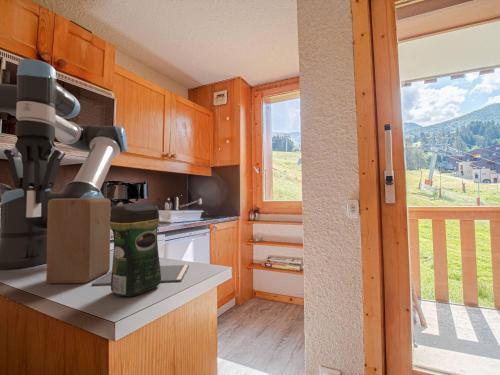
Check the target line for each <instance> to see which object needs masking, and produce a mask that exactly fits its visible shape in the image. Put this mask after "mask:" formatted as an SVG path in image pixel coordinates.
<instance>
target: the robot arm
mask: <svg viewBox="0 0 500 375" xmlns="http://www.w3.org/2000/svg"><path fill="white" fill-rule="evenodd" d="M57 79H58V77H57V71H56V69H55V67H53V66H52V65H51V64H49V63H47V62H44V61H42V60H38V59H35V58H22V59H20V60H19V61H18V63H17V71H16V84H8V83H7V84H6V83H0V113H8V114H10V115H11V116H13V117H15V118H16V120H17V121H16V122H15V134H14V135H15V136H16V139H17V140H16V142H15V144H14V147H12V148H11V149H7V148H6V149H4V150H3V154H4V155H5V157H6V158H7V160H8V163H9V164H8V165H9V168H10V173H11V177H12V180H13V186H14V187H15V188H16V189H12V190H8V191H5V192H4V193H2V196H1V199H0V270H10V269H11V270H12V269H20V268H29V267H33V266H38V265H39V266H40V265H43V264H47V219H48V201H49V200H51V199H68V198H105V197H104V195H103V194H102V191H101V188H102V186H103V184H104V181H105V179H106V177H107V174H108V173H109V171H110V170H109V169H110V167H111V166H112V163H113V161H114V160H115V159H116V158H118V157H119V156H120V154H121V153H127V152H128V139H127V133H126V131H125V129H124V127H123V126H120V125H119V126H118V125H117V126H116V125H113V126H112V125H98V124H97V125H94V124H93V125H92V124H90V125H89V124H79V123H78V124H77V123H75V122H74V121H69V120H66V119H72V118H73V119H74V118H75V117H77V116H78V115H79V114H80V111H81V104H80V102H79V100H78V99H77V98H76V97H75V96H74V95H73V94H72V93H71V92H69V91H68V90H66V89H65V88H64V87H63V86H62V85H61V84H60V83H58V81H57ZM55 139H56V140H57V141H58V142H60V143H61V144H64V145H65V146H67V147H71V148H72V149H76V150H78V151H83V152H88V154H87V156H86V157H85V159H84V161H83V163H82V165H81V167H80V168H79V171H78V172H77V174H76V176H75V178H74V180H71V181H70V182H67V183H66V184H65V185H64V186H63V188H62V190H61V191H52V189H53V188H54V187H55V184H56V180H57V177H58V173H59V168H60V165H61V162H62V160H63V159H64V157H65V156H66V152H65V151H62V150H60V149H58V148H57V147H56V143H55V142H54V141H55Z"/></svg>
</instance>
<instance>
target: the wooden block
mask: <svg viewBox="0 0 500 375" xmlns="http://www.w3.org/2000/svg"><path fill="white" fill-rule="evenodd" d="M110 213H111V200H110V198H107V197H104V198H68V199H51V200H49V201H48V219H47V263H46V278H45V279H46V282H47V283H48V284H87V283H89V282H91V281H93V280H94V279H97V278H99V277H100V276H101V277H102V276H104V275H106V274H108V273H109V271H110V269H111V227H110V216H111V214H110Z"/></svg>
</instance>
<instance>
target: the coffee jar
mask: <svg viewBox="0 0 500 375" xmlns="http://www.w3.org/2000/svg"><path fill="white" fill-rule="evenodd" d="M160 220H161V219H160V212H159V207H158V205H157V204H156V203H148V202H132V203H125V204H119V205H118V204H117V205H113V206H112V207H111V208H110V230H111V232H112V233H113V234H112V235H113V253H112V254H113V257H112V267H111V268H112V269H111V271H112V276H111V285H110V291H111V292H112V293H113V294H114V295H115V296H118V297H133V296H137V295H139V294H143V293H145V292H147V291H149V290H151V289H154V288H156V287H158V286H159V285H161V283H162V282H161V270H160V266H161V263H160V256H159V255H160V254H159V246H158V228H159V224H160Z"/></svg>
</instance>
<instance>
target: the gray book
mask: <svg viewBox="0 0 500 375" xmlns="http://www.w3.org/2000/svg"><path fill="white" fill-rule="evenodd" d="M189 267H190V265H189V264H177V265H173V264H172V265H160V270H161V282H160V283H174V282H175V283H177V282H178V283H179V282H182V281H183V279H184V277H185V275H186V273H187V272H188V269H189ZM111 276H112V270H111V271H110V272H109V271H108V272H107V273H105V274H104V275H102V276H101V277H100V278H98V279H97V280H95V281H93V283H91V286H94V287H95V286H111Z"/></svg>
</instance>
